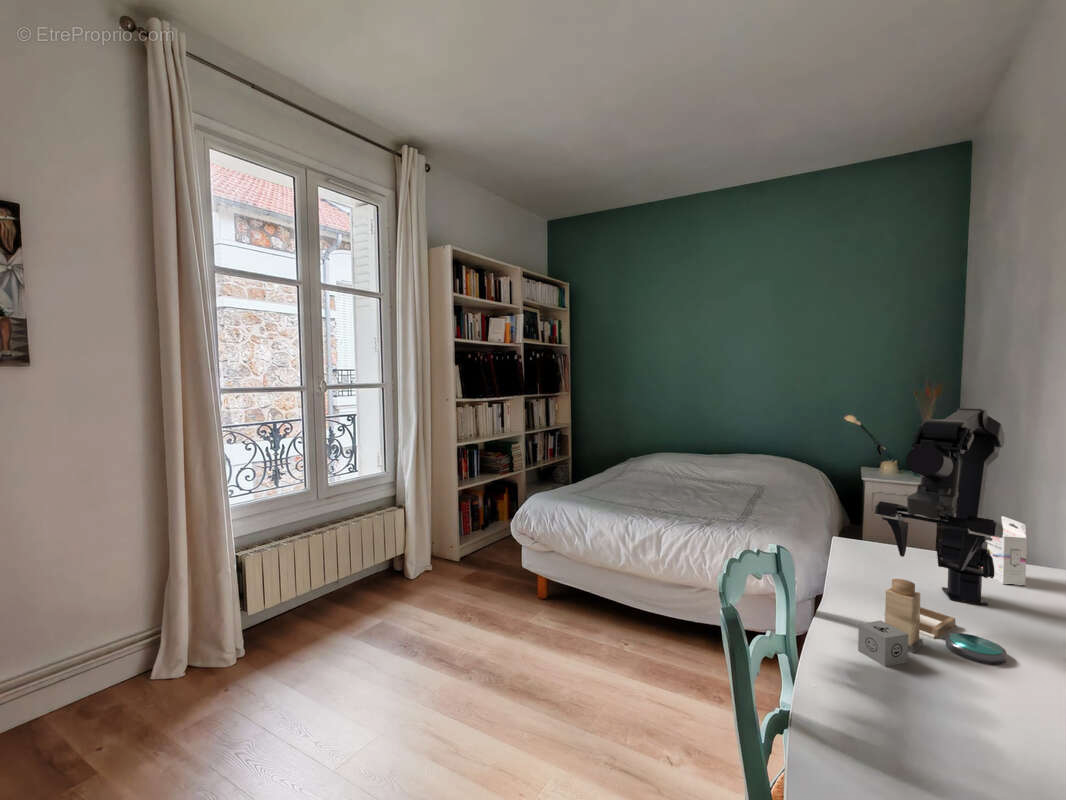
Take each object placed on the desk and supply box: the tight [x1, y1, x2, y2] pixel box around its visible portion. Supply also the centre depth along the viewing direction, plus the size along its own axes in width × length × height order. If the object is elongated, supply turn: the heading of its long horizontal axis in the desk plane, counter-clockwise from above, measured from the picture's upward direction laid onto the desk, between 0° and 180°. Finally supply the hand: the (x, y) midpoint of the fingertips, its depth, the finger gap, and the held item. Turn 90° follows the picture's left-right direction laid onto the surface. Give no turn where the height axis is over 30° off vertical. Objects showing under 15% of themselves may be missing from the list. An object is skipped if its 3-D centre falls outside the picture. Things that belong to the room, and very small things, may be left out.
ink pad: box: [945, 632, 1007, 666], centre depth 88 cm, size 8×8×2 cm
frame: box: [919, 606, 956, 639], centre depth 98 cm, size 10×9×2 cm
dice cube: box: [857, 620, 909, 667], centre depth 86 cm, size 5×5×5 cm
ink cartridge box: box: [981, 515, 1028, 586], centre depth 121 cm, size 9×5×15 cm, turn 168°
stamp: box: [884, 578, 923, 654], centre depth 91 cm, size 5×5×11 cm
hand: (930, 563), depth 96 cm, fingers open, 9 cm apart
